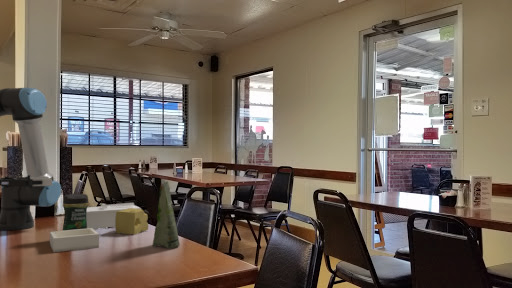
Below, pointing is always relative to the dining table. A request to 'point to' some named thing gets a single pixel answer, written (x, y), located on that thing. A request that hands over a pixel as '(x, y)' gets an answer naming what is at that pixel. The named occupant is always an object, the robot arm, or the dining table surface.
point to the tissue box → (105, 215)
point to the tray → (74, 239)
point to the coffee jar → (75, 211)
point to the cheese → (131, 221)
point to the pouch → (165, 221)
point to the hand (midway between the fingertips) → (50, 181)
